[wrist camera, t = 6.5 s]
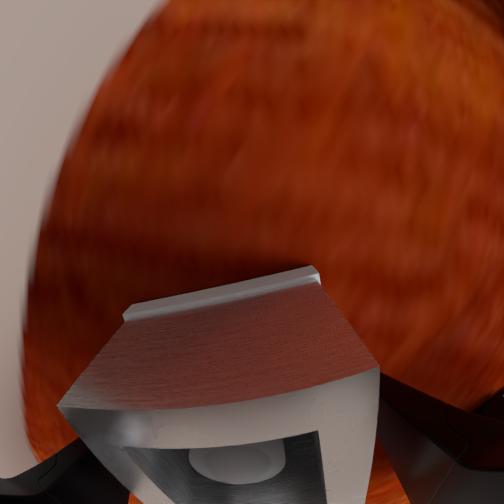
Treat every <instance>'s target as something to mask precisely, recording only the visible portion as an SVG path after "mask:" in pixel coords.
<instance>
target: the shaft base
mask: <svg viewBox="0 0 504 504" xmlns="http://www.w3.org/2000/svg"><path fill="white" fill-rule="evenodd" d="M312 278H316V279H317V281H318V282H319V283H320V277H319V273H318V271H317V270H316V269H315V268H314V267H313V266H312V265H311V266H306V267H302V268H298V269H294V270H290V271H285V272H281V273H277V274H272V275H268V276H264V277H259V278H255V279H251V280H246V281H242V282H237V283H233V284H228V285H224V286H219V287H214V288H210V289H205V290H200V291H195V292H191V293H186V294H181V295H176V296H171V297H166V298H161V299H156V300H151V301H146V302H141V303H136V304H132V305H131V306H130V307H129V308H128V309H127V310H126V311H125V312H124V313H123V314H122V316H123V318H124V321H126V320H127V319H128V318H129V317H132V316H138V315H143V314H149V313H154V312H160V311H165V310H171V309H176V308H181V307H186V306H191V305H196V304H201V303H206V302H211V301H216V300H221V299H225V298H230V297H235V296H239V295H244V294H248V293H253V292H257V291H262V290H266V289H270V288H275V287H279V286H283V285H288V284H292V283H296V282H300V281H304V280H308V279H312ZM320 285H321V283H320ZM189 461H190V464H191V465H192V467H193V468H194V469H195V470H196V471H197V472H199V473H200V474H202V475H204V476H205V477H208V478H210V479H213V480H216V481H219V482H224V483H229V484H237V485H240V484H249V483H255V482H260V481H264V480H266V479H269V478H271V477H273V476H275V475H276V474H278V473H279V472H280V471H281V470H282V469H283V468H284V466H285V463H286V457H285V450H284V443H283V438H280V439H275V440H269V441H263V442H256V443H249V444H241V445H232V446H222V447H208V448H190V453H189Z"/></svg>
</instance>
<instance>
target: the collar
mask: <svg viewBox="0 0 504 504" xmlns="http://www.w3.org/2000/svg"><path fill="white" fill-rule="evenodd" d="M379 384H380V365H379V364H378V363H377V361H376V360H375V358H374V357H373V356H372V354H371V353H370V351H369V350H368V349H367V347H366V346H365V344H364V343H363V342H362V340H361V339H360V337H359V336H358V335H357V333H356V332H355V331H354V329H353V328H352V326H351V325H350V324H349V322H348V321H347V320H346V318H345V317H344V315H343V314H342V313H341V311H340V310H339V309H338V307H337V306H336V305H335V303H334V302H333V301H332V299H331V298H330V297H329V295H328V294H327V293H326V291H325V290H324V289H323V287H322V286H321V285H320V283H319V282H318V281H317V279H316V278H312V279H308V280H304V281H300V282H296V283H292V284H288V285H283V286H279V287H275V288H270V289H266V290H262V291H257V292H253V293H248V294H244V295H239V296H235V297H230V298H225V299H221V300H216V301H211V302H206V303H201V304H196V305H191V306H186V307H181V308H176V309H171V310H165V311H160V312H154V313H149V314H143V315H138V316H132V317H129V318H128V319H127V320H126V321H125V322H124V323H123V325H122V326H121V327H120V328H119V329H118V330H117V332H116V333H115V334H114V335H113V336H112V337H111V339H110V340H109V341H108V342H107V343H106V345H105V346H104V347H103V348H102V349H101V351H100V352H99V353H98V354H97V355H96V357H95V358H94V359H93V360H92V361H91V363H90V364H89V365H88V366H87V368H86V369H85V370H84V371H83V373H82V374H81V375H80V376H79V377H78V379H77V380H76V381H75V383H74V384H73V385H72V386H71V388H70V389H69V390H68V391H67V393H66V394H65V395H64V397H63V398H62V399H61V400H60V402H59V403H58V404H57V407H58V409H59V410H60V411H61V413H62V414H63V416H64V417H65V419H66V420H67V421H68V423H69V424H70V425H71V427H72V428H73V429H74V431H75V432H76V433H77V434H78V436H79V437H80V438H81V439H82V441H83V442H84V443H85V444H86V446H87V447H88V448H89V449H90V450H91V451H92V453H93V454H94V455H95V456H96V457H97V458H98V459H99V461H100V462H101V463H102V464H103V465H104V466H105V467H106V468H107V469H108V470H109V471H110V472H111V473H112V474H113V475H114V476H115V477H116V478H117V479H118V480H119V481H120V482H121V483H122V484H123V485H124V486H125V487H126V488H127V489H128V490H129V491H130V492H131V493H133V494H134V495H135V496H136V497H137V498H138V499H139V500H140V501H142V502H143V503H144V504H364V503H365V499H366V494H367V489H368V484H369V478H370V473H371V467H372V460H373V453H374V445H375V437H376V427H377V416H378V403H379ZM280 438H283V443H284V450H285V457H286V463H285V466H284V468H283V469H282V470H281V471H280V472H279V473H278V474H276V475H275V476H273V477H271V478H269V479H266V480H264V481H260V482H255V483H249V484H240V485H237V484H229V483H224V482H219V481H216V480H213V479H210V478H208V477H205V476H204V475H202V474H200V473H199V472H197V471H196V470H195V469H194V468H193V467H192V465H191V464H190V461H189V453H190V448H208V447H222V446H232V445H241V444H249V443H256V442H263V441H269V440H275V439H280Z"/></svg>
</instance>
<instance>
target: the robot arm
mask: <svg viewBox="0 0 504 504" xmlns="http://www.w3.org/2000/svg"><path fill="white" fill-rule="evenodd" d="M376 435H377V437H378V439H379V441H380V443H381V445H382V447H383V449H384V451H385V453H386V455H387V457H388V459H389V461H390V463H391V465H392V467H393V469H394V471H395V473H396V475H397V477H398V479H399V481H400V483H401V485H402V487H403V489H404V491H405V493H406V495H407V497H408V499H409V501H410V503H411V504H504V391H502V392H501V393H500V394H498V395H497V396H496V397H494V398H493V399H492V400H490V401H489V402H488V403H486V404H485V405H483V406H482V407H480V408H479V409H478V410H476V411H475V412H473V413H470V412H467V411H464V410H462V409H459V408H457V407H454V406H452V405H450V404H447V405H446V403H445V402H443V401H441V400H438V399H436V398H434V397H432V396H430V395H427V394H425V393H423V392H421V391H419V390H417V389H415V388H412V387H410V386H408V385H406V384H404V383H402V382H400V381H398V380H396V379H394V378H392V377H390V376H388V375H386V374H383V373H381V372H380V384H379V403H378V416H377V427H376ZM129 494H130V491H129V490H128V489H127V488H126V487H125V486H124V485H123V484H122V483H121V482H120V481H119V480H118V479H117V478H116V477H115V476H114V475H113V474H112V473H111V472H110V471H109V470H108V469H107V468H106V467H105V466H104V465H103V464H102V463H101V462H100V461H99V459H98V458H97V457H96V456H95V455H94V454H93V453H92V451H91V450H90V449H89V448H88V447H87V446H86V444H85V443H84V442H83V441H82V439H81V438H80V437H78V438H77V439H76V440H74V441H73V442H71V443H70V444H69V445H67V446H66V447H64V448H63V449H61V450H60V451H58V453H55V454H54V455H52V456H51V457H49V458H48V459H46V460H45V461H43V462H41V463H40V464H38V465H36V466H35V467H33V468H31V469H29V470H27V471H25V472H23V473H21V474H19V475H17V476H15V477H13V478H7V479H2V478H0V504H128V500H129Z"/></svg>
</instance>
